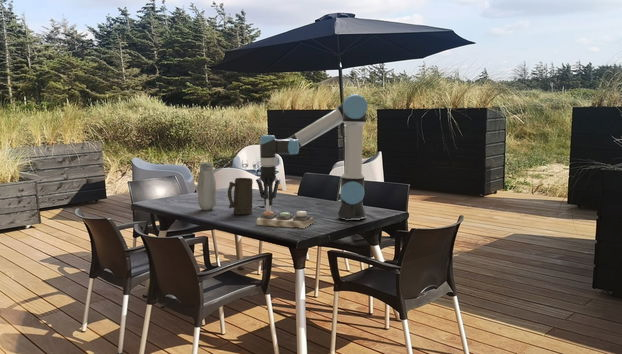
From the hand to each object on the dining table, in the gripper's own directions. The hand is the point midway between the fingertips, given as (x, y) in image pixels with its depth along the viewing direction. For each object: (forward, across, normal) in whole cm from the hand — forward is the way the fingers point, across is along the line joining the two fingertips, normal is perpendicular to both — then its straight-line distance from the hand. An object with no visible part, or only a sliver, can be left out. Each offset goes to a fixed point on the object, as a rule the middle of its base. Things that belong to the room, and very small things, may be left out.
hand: (268, 211), depth 263 cm
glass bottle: (+6, +50, -23) cm, 55 cm away
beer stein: (+6, +25, -17) cm, 31 cm away
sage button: (+2, -9, 0) cm, 9 cm away
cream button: (+1, -18, 0) cm, 18 cm away
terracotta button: (+2, 0, 0) cm, 2 cm away
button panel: (+6, -9, 0) cm, 11 cm away
